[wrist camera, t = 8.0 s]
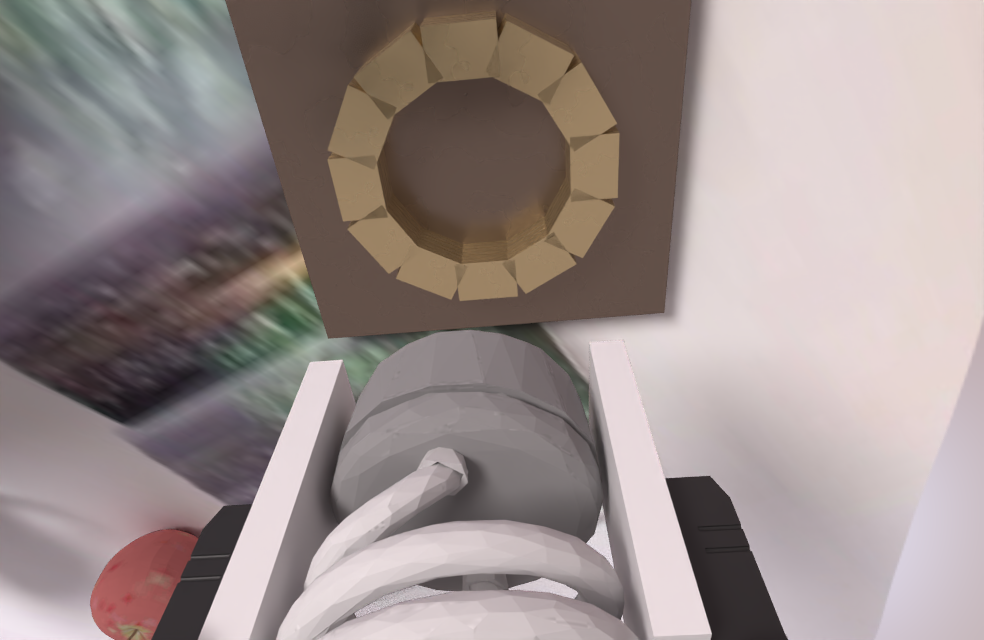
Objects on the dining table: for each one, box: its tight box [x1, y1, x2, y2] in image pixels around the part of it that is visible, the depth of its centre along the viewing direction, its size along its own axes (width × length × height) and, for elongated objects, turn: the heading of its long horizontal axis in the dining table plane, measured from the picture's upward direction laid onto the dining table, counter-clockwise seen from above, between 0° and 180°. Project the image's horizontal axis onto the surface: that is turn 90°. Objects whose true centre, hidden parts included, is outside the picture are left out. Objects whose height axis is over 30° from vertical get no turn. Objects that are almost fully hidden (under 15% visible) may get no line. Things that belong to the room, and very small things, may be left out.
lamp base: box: [225, 0, 691, 338], centre depth 27 cm, size 18×18×4 cm
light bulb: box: [276, 330, 639, 640], centre depth 11 cm, size 6×6×12 cm
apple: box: [90, 529, 198, 640], centre depth 42 cm, size 7×7×8 cm
